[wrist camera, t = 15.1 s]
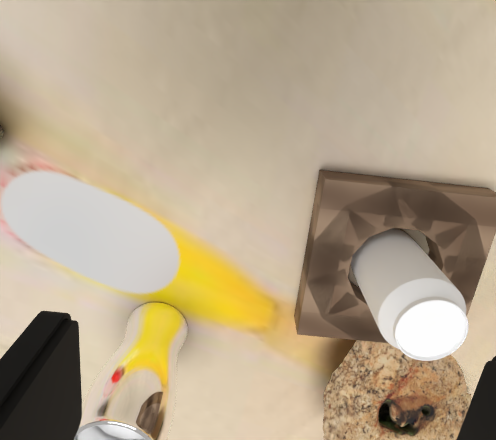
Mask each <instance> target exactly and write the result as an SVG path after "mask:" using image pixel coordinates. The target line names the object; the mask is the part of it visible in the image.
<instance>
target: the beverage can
mask: <svg viewBox="0 0 496 440" xmlns="http://www.w3.org/2000/svg"><path fill="white" fill-rule="evenodd" d="M351 268H352V271H353V274H354V276H355V279H356V281H357V283H358V285H359V287H360V289H361V292H362V294H363V296H364V298H365V300H366V302H367V305H368V307H369V309H370V311H371V313H372V315H373V317H374V320H375V322H376V324H377V326H378V328H379V330H380V332H381V334H382V336H383V337H384V339H385V340H386V341H387V342H388V343H389V344H391V345H392V346H394V347H395V348H397V349H400V350H401V351H402V352H403V353H404V354H405V355H407V356H408V357H410V358H413V359H416V360H421V361H432V360H437V359H441V358H444V357H446V356H448V355H450V354H451V353H453V352H454V351H456V350H457V349H458V348H459V347H460V346H461V344H462V343H463V342H464V340H465V338H466V336H467V333H468V319H467V317H466V304H465V300H464V298H463V296H462V294H461V293H460V291H459V290H458V289H457V288H456V287H455V286H454V285H453V283H452V282H451V281H450V280H449V279H448V278H447V277H446V275H445V274H444V273H443V272H442V271H441V270H440V269H439V268H438V266H437V265H436V264H435V263H434V262H433V261H432V260H431V259H430V258H429V256H428V255H427V254H426V253H425V252H424V251H423V250H422V249H421V247H420V246H419V245H418V244H417V243H416V242H415V241H414V240H413V239H412V238H411V237H410V236H409V235H408V234H406V233H405V232H403V231H401V230H399V229H395V228H392V229H389V230H386V231H384V232H381V233H378V234H376V235H373V236H371V237H369V238H368V239H367V240H366V241H365V242H364V243H363V244H362V246H361V247H360V248H359V249H358V250H357V251H356V252H355V253H354V254H353V255H352V260H351Z"/></svg>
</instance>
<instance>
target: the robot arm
mask: <svg viewBox="0 0 496 440" xmlns="http://www.w3.org/2000/svg"><path fill="white" fill-rule="evenodd" d="M81 418H82V399H81V375H80V351H79V327H78V322H77V321H73V320H71V317H70V314H68V313H60V312H50V311H41V312H40V313H39V314H38V315H37V316H36V317H35V318H34V320H33V321H32V322H31V323H30V324H29V326H28V327H27V328H26V329H25V330H24V332H23V333H22V334H21V335H20V336H19V338H18V339H17V340H16V341H15V342H14V344H13V345H12V346H11V347H10V348H9V350H8V351H7V352H6V353H5V354H4V356H3V357H2V358H1V359H0V440H74V438H75V436H76V434H77V431H78V429H79V426H80V423H81ZM457 440H496V356H495V357H494V358H493V359H492V361H488V362H487V363H486V364H485V366H484V369H483V372H482V374H481V377H480V380H479V382H478V385H477V387H476V390H475V393H474V395H473V398H472V400H471V403H470V406H469V408H468V411H467V414H466V416H465V419H464V421H463V424H462V427H461V429H460V432H459V434H458V437H457Z"/></svg>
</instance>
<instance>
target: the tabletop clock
mask: <svg viewBox="0 0 496 440" xmlns="http://www.w3.org/2000/svg"><path fill="white" fill-rule="evenodd" d="M3 133H4V130H3V128H2V126H1V125H0V139H1V138H2V137H3Z"/></svg>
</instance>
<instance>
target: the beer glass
mask: <svg viewBox="0 0 496 440" xmlns="http://www.w3.org/2000/svg"><path fill="white" fill-rule="evenodd" d="M187 333H188V328H187V323H186V320H185V318H184V317H183V315H182V314H181V313H180V312H179V311H178V310H177V309H175V308H174V307H172V306H170V305H168V304H165V303H159V302H151V303H146V304H143V305H141V306H139V307H138V308H136V309H135V310H134V311H133V312H132V313H131V315H130V317H129V319H128V322H127V326H126V333H125V337H124V340H123V341H122V343H121V345H120V346H119V347H118V349H117V350H116V351H115V352H114V354H113V355H112V356H111V357H110V359H109V360H108V361H107V362H106V364H105V365H104V366H103V367H102V369H101V370H100V372H99V373H98V375H97V376H96V378H95V379H94V381H93V382H92V384H91V386H90V388H89V390H88V392H87V394H86V396H85V398H84V400H83V402H82V418H81V423H80V426H79V429H78V431H77V434H76V436H75V438H74V440H168V437H169V433H170V429H171V426H172V422H173V417H174V412H175V406H176V395H177V357H178V353H179V351H180V349H181V348H182V346H183V344H184V342H185V340H186V337H187Z"/></svg>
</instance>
